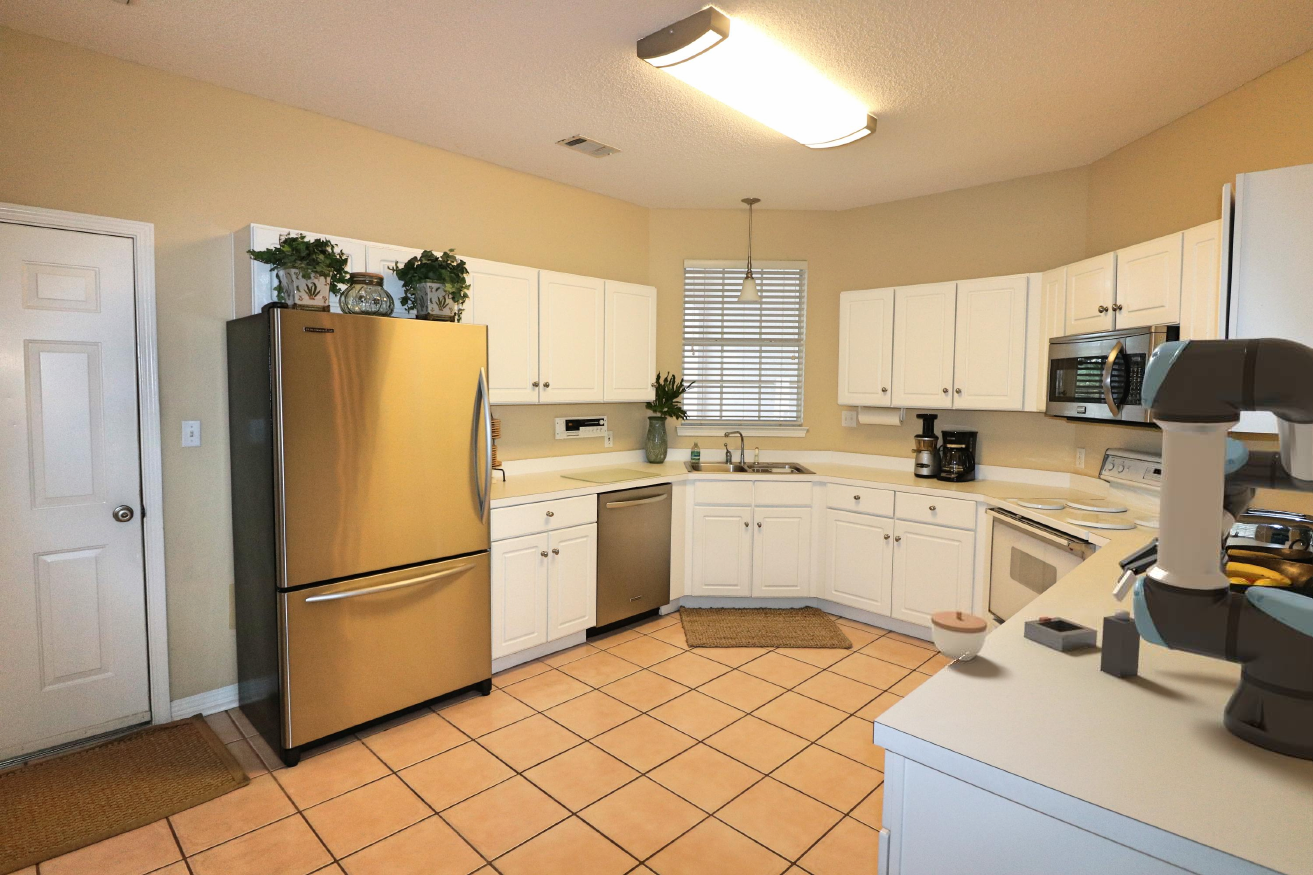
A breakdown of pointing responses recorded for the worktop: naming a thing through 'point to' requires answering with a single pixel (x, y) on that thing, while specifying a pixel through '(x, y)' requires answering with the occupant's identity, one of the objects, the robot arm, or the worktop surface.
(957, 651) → the lidded jar
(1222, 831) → the worktop surface
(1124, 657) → the plug
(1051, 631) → the socket
